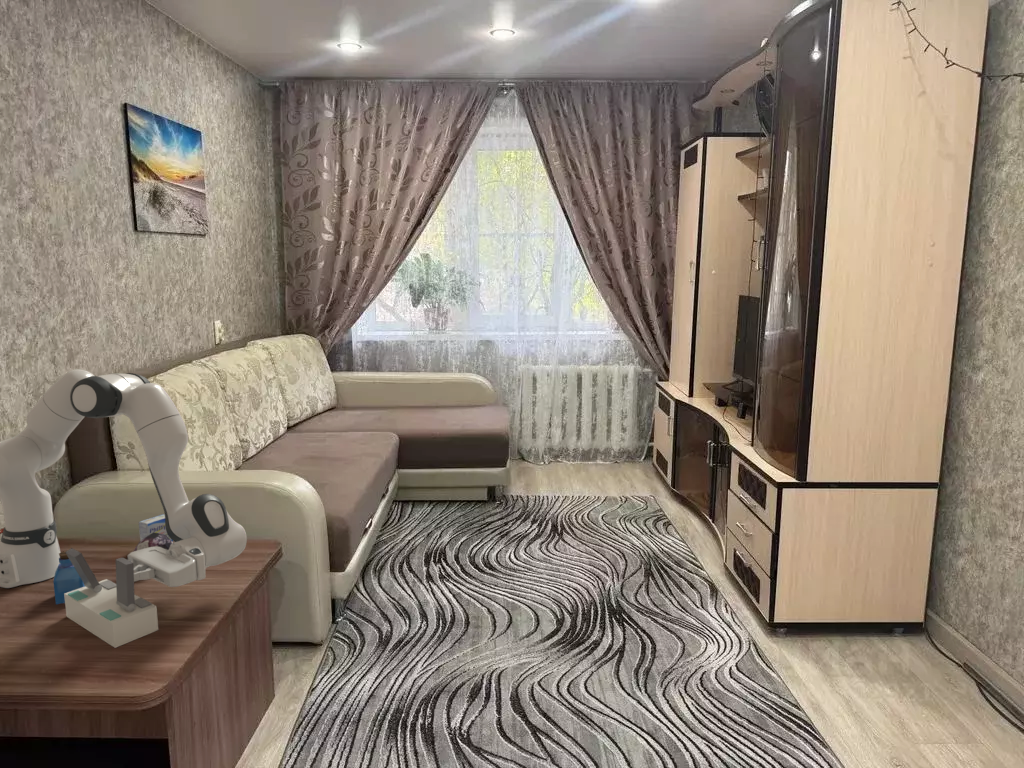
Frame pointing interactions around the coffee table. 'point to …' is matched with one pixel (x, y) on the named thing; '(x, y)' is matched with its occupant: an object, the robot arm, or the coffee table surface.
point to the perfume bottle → (65, 578)
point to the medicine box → (153, 526)
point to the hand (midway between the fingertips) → (128, 577)
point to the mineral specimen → (154, 541)
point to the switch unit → (110, 614)
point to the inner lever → (83, 570)
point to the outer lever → (125, 584)
